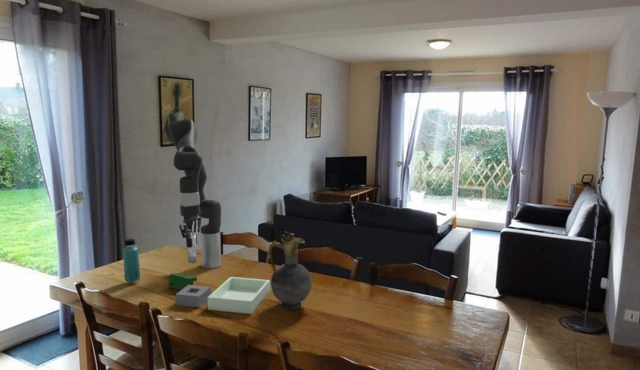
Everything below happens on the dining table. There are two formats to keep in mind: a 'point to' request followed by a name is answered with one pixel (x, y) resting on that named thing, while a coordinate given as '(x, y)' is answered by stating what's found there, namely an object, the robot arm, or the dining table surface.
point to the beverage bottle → (131, 261)
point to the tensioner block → (193, 296)
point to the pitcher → (290, 274)
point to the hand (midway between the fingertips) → (191, 245)
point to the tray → (239, 295)
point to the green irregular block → (180, 280)
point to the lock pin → (192, 250)
